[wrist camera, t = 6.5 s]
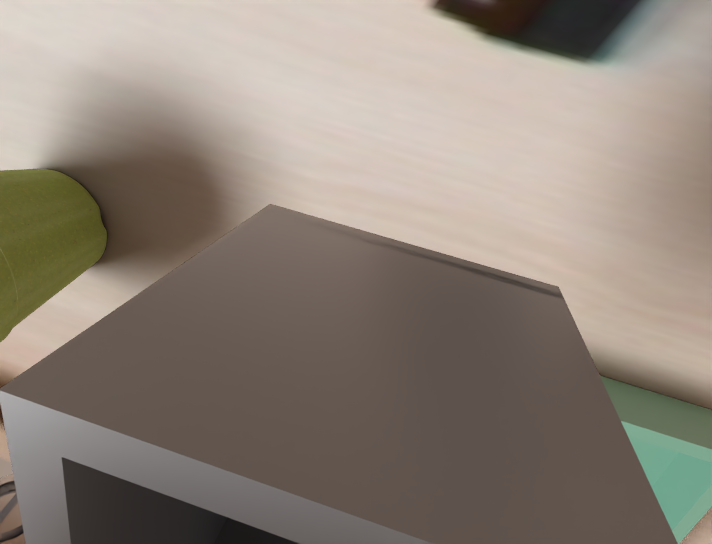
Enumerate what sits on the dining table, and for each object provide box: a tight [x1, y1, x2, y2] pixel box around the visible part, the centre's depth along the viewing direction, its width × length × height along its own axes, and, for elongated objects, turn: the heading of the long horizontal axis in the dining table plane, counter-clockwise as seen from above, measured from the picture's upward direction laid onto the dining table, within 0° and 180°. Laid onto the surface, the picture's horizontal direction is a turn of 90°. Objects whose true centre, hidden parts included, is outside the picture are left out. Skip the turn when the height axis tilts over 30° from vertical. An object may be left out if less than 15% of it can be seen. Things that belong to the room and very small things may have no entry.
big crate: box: [600, 376, 712, 544], centre depth 28 cm, size 14×14×4 cm
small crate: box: [0, 204, 678, 544], centre depth 9 cm, size 9×6×6 cm
